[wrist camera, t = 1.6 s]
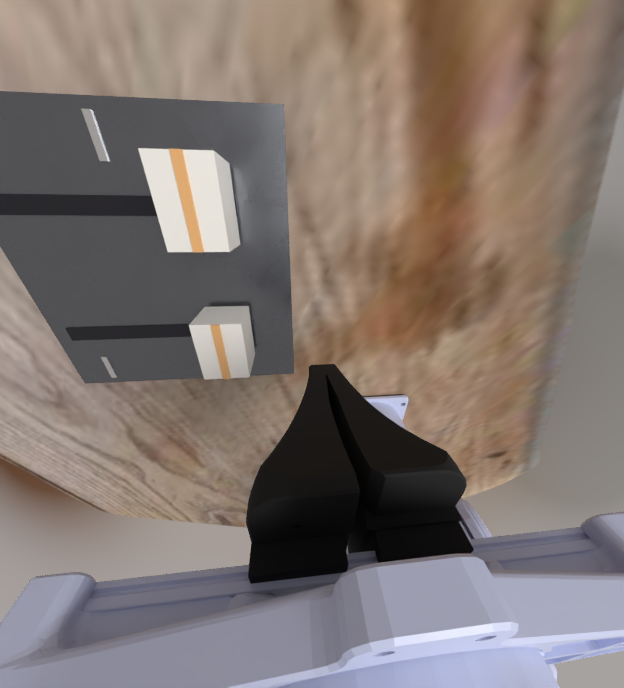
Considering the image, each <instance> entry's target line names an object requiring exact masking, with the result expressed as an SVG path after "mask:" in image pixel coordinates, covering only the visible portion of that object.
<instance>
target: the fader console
mask: <svg viewBox="0 0 624 688" xmlns="http://www.w3.org/2000/svg"><path fill="white" fill-rule="evenodd" d="M138 148H149V149H183V150H214V151H215V152H216V153H217V154H219V155H220V156H221V157H222V158H224V159H225V160H226V161H227V162H228V163H229V165H230V172H231V179H232V187H233V194H234V201H235V209H236V216H237V224H238V231H239V238H240V245H239V246H237V247H236V248H235V249H233V250H232V251H230V252H168V251H167V248H166V244H165V241H164V237H163V234H162V230H161V227H160V223H159V220H158V216H157V213H156V209H155V206H154V202H153V199H152V195H151V192H150V188H149V185H148V181H147V178H146V174H145V171H144V167H143V164H142V160H141V157H140V153H139V150H138ZM0 247H1V248H2V250H3V252H4V253H5V255H6V256H7V258H8V260H9V261H10V263H11V264H12V266H13V268H14V269H15V271H16V273H17V274H18V276H19V277H20V279H21V281H22V282H23V284H24V285H25V287H26V289H27V290H28V292H29V294H30V295H31V297H32V298H33V300H34V302H35V303H36V305H37V306H38V308H39V310H40V311H41V313H42V315H43V316H44V318H45V319H46V321H47V323H48V324H49V326H50V327H51V329H52V331H53V332H54V334H55V336H56V337H57V339H58V340H59V342H60V344H61V345H62V347H63V348H64V350H65V352H66V353H67V355H68V357H69V358H70V360H71V361H72V363H73V365H74V366H75V368H76V369H77V371H78V373H79V374H80V376H81V378H82V379H83V381H84V382H85V383H103V382H124V381H145V380H166V379H187V378H204V377H203V374H202V370H201V367H200V363H199V360H198V356H197V353H196V349H195V346H194V342H193V339H192V335H191V332H190V328H189V324H190V323H191V322H192V321H193V320H194V319H195V317H196V316H197V315H198V314H199V313H200V312H201V311H202V309H203V308H204V307H220V306H249V312H250V319H251V327H252V334H253V341H254V349H255V357H254V361H253V365H252V370H251V374H250V375H271V374H292V373H294V360H293V334H292V308H291V282H290V256H289V229H288V203H287V177H286V151H285V125H284V104H263V103H241V102H220V101H199V100H177V99H156V98H135V97H113V96H92V95H71V94H49V93H28V92H7V91H0Z"/></svg>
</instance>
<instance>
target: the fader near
mask: <svg viewBox="0 0 624 688" xmlns="http://www.w3.org/2000/svg"><path fill="white" fill-rule="evenodd" d="M138 150H139V153H140V157H141V160H142V164H143V167H144V171H145V174H146V178H147V181H148V185H149V188H150V192H151V195H152V199H153V202H154V206H155V209H156V213H157V216H158V220H159V223H160V227H161V230H162V234H163V237H164V241H165V244H166V248H167V251H168V252H230V251H232V250H233V249H235V248H236V247H237V246H239V245H240V238H239V231H238V224H237V216H236V209H235V201H234V194H233V187H232V179H231V172H230V165H229V163H228V162H227V161H226V160H225V159H224V158H222V157H221V156H220V155H219V154H217V153H216V152H215V151H214V150H183V149H149V148H138Z"/></svg>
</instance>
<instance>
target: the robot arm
mask: <svg viewBox="0 0 624 688" xmlns="http://www.w3.org/2000/svg"><path fill="white" fill-rule="evenodd" d="M408 400H409V399H408V397H407V396H406V395H397V396H379V397H363V396H362V395H361V394H360V393H359V392H358V391H357V390H356V389H355V388H354V387H353V386H352V385H351V384H350V383H349V381H348V380H347V379H346V378H345V377H344V376H343V374H342V373H341V372H340V371H339V369H338V368H337V367H336V365H335V364H325V365H311V366H310V367H309V379H308V383H307V387H306V390H305V393H304V396H303V399H302V402H301V404H300V406H299V409H298V411H297V413H296V415H295V417H294V419H293V421H292V423H291V424H290V426H289V428H288V430H287V431H286V433H285V434H284V436H283V437H282V439H281V440H280V442H279V443H278V445H277V446H276V448H275V449H274V450H273V452H272V453H271V454H270V455H269V457H268V458H267V459H266V460H265V461H264V463H263V464H262V465H261V467H260V469H259V471H258V474H257V476H256V479H255V481H254V484H253V487H252V490H251V494H250V498H249V502H248V509H247V517H246V524H247V528H248V531H249V535H250V538H251V542H252V544H251V553H250V563H249V565H244V566H235V567H226V568H217V569H209V570H200V571H191V572H182V573H173V574H165V575H156V576H148V577H138V578H130V579H121V580H112V581H104V582H96V581H95V580H94V578H93V577H92V576H90V575H88V574H86V573H80V572H72V573H63V574H54V575H45V576H36V577H35V578H33V579H31V580H30V581H29V583H28V585H27V586H26V587H25V589H24V590H23V592H22V593H21V594H20V596H19V597H18V599H17V600H16V602H15V603H14V605H13V606H12V607H11V609H10V610H9V612H8V613H7V614H6V616H5V618H4V619H3V620H2V622H1V623H0V688H560V687H559V685H558V683H557V682H556V680H557V670H556V668H555V666H554V664H556V663H561V662H565V661H571V660H576V659H581V658H587V657H592V656H597V655H602V654H608V653H613V652H618V651H624V512H617V513H608V514H600V515H596V516H593V517H591V518H589V519H587V520H586V521H585V522H583V523H582V524H581V527H576V528H567V529H560V530H550V531H542V532H533V533H524V534H516V535H506V536H497V537H492V535H491V534H490V532H489V530H488V529H487V527H486V526H485V524H484V523H483V521H482V520H481V518H480V517H479V515H478V514H477V512H476V511H475V510H474V508H473V507H472V506H471V505H470V503H469V502H467V501H466V500H464V499H462V498H461V496H462V495H463V493H464V491H465V488H466V479H465V477H464V476H463V474H462V473H461V471H460V470H459V468H458V466H457V465H456V463H455V462H454V461H453V459H452V458H451V457H450V455H449V454H448V453H447V451H445V450H443V449H441V448H439V447H437V446H435V445H433V444H431V443H429V442H427V441H425V440H423V439H421V438H419V437H417V436H416V435H414V434H412V433H411V432H409V431H407V429H406V428H405V426H404V424H403V422H402V421H403V417H404V414H405V411H406V407H407V404H408Z"/></svg>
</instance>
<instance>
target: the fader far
mask: <svg viewBox="0 0 624 688" xmlns="http://www.w3.org/2000/svg"><path fill="white" fill-rule="evenodd" d="M189 328H190V332H191V335H192V339H193V342H194V346H195V349H196V353H197V356H198V360H199V363H200V367H201V370H202V374H203V377H204V380H205V379H223V380H224V379H231V378H246V377H250V374H251V370H252V365H253V361H254V357H255V349H254V341H253V334H252V327H251V319H250V312H249V306H220V307H204V308H203V309H202V311H201V312H200V313H199V314H198V315H197V316H196V317H195V319H194V320H193V321H192V322H191V323H190V324H189Z"/></svg>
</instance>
